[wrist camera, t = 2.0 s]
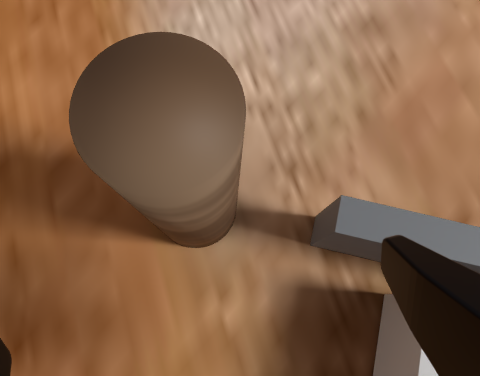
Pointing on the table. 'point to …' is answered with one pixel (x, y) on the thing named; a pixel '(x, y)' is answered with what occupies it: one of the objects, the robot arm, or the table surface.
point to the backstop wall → (392, 231)
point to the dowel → (164, 132)
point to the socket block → (398, 346)
